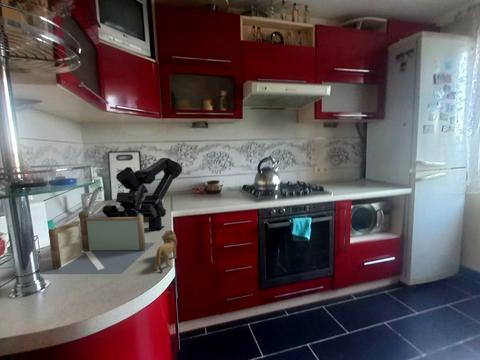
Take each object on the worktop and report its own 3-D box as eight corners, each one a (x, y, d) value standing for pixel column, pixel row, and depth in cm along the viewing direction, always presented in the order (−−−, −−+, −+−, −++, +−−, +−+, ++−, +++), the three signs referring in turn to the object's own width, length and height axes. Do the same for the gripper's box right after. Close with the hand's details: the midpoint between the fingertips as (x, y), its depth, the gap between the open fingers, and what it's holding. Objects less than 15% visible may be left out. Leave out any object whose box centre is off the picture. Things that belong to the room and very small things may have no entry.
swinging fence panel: (92, 248, 89) (89, 215, 88) (146, 247, 88) (143, 215, 86) (88, 250, 87) (85, 217, 86) (143, 250, 86) (141, 216, 84)
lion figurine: (163, 254, 84) (161, 228, 83) (179, 253, 84) (177, 227, 83) (152, 275, 69) (150, 244, 68) (171, 274, 70) (170, 243, 69)
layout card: (89, 244, 95) (89, 243, 95) (155, 243, 94) (154, 242, 94) (34, 275, 71) (34, 273, 71) (121, 274, 70) (121, 273, 70)
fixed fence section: (85, 249, 90) (81, 210, 88) (93, 248, 89) (89, 210, 88) (49, 269, 74) (44, 223, 72) (59, 269, 73) (54, 223, 72)
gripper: (102, 184, 92) (85, 221, 82) (151, 183, 91) (140, 220, 81) (115, 200, 101) (101, 236, 91) (160, 200, 100) (151, 235, 90)
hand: (122, 231), depth 88 cm, fingers closed
